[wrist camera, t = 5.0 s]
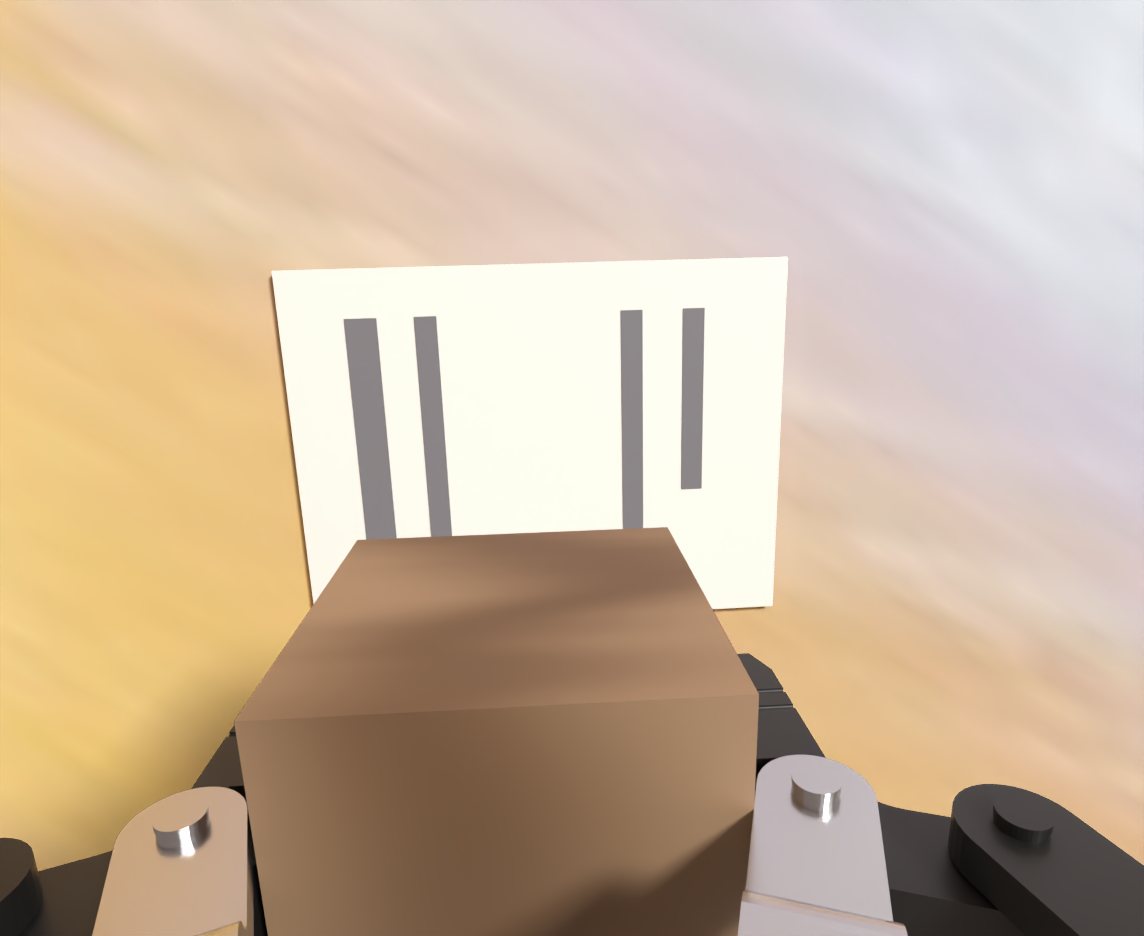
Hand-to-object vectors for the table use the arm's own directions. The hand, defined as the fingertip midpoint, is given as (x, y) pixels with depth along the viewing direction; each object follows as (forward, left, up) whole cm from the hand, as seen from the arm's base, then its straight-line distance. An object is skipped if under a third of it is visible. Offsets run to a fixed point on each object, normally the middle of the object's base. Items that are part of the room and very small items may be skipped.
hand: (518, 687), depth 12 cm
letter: (-1, -1, -13) cm, 13 cm away
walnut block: (0, 0, 0) cm, 0 cm away
